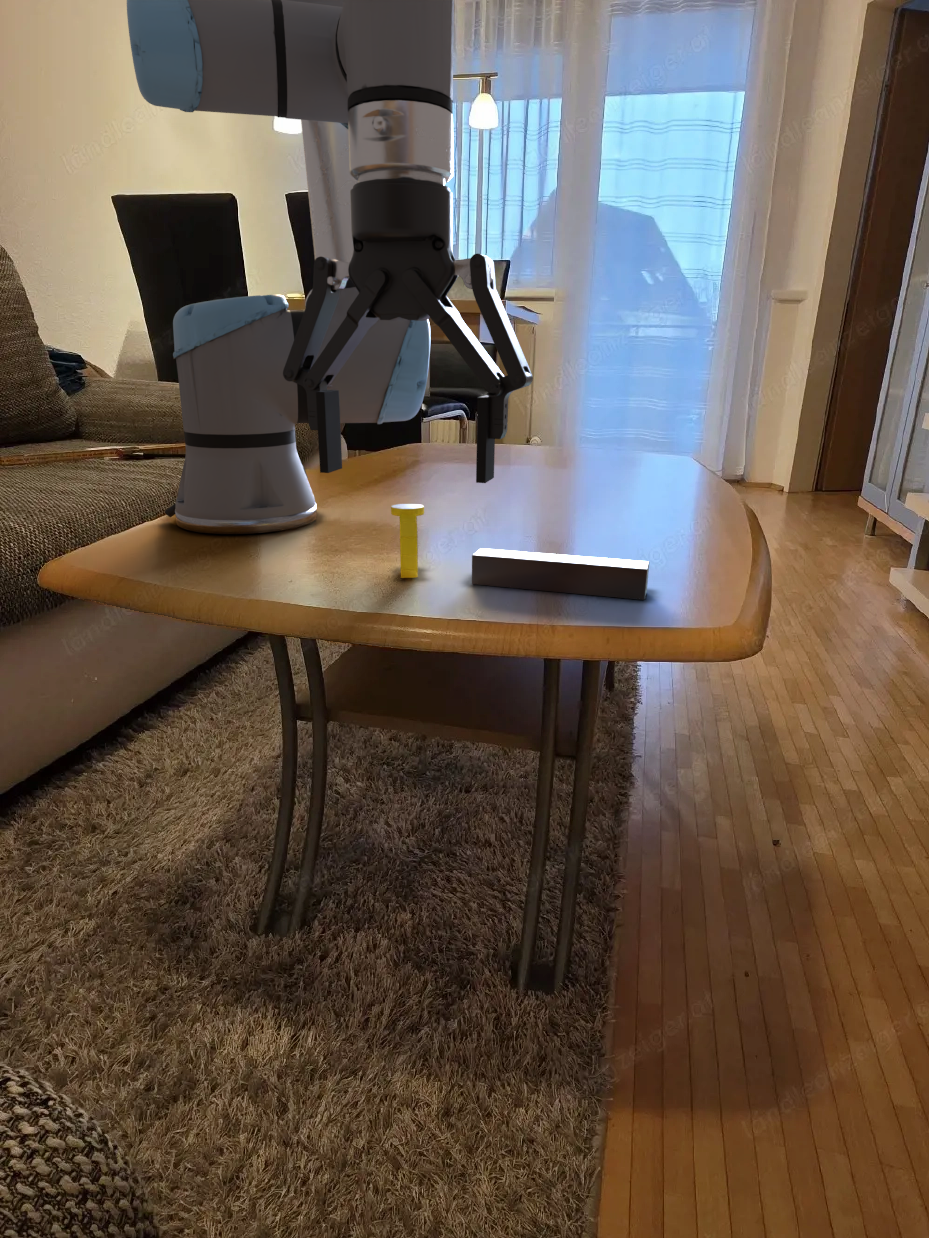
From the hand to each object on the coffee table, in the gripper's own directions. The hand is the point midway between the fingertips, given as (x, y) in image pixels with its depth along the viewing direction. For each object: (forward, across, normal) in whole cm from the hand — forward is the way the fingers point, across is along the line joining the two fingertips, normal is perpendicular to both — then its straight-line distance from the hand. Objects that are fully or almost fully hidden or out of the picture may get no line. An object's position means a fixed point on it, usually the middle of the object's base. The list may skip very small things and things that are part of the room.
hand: (406, 475), depth 63 cm
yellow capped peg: (+9, 0, -1) cm, 9 cm away
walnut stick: (+8, +13, 0) cm, 16 cm away
